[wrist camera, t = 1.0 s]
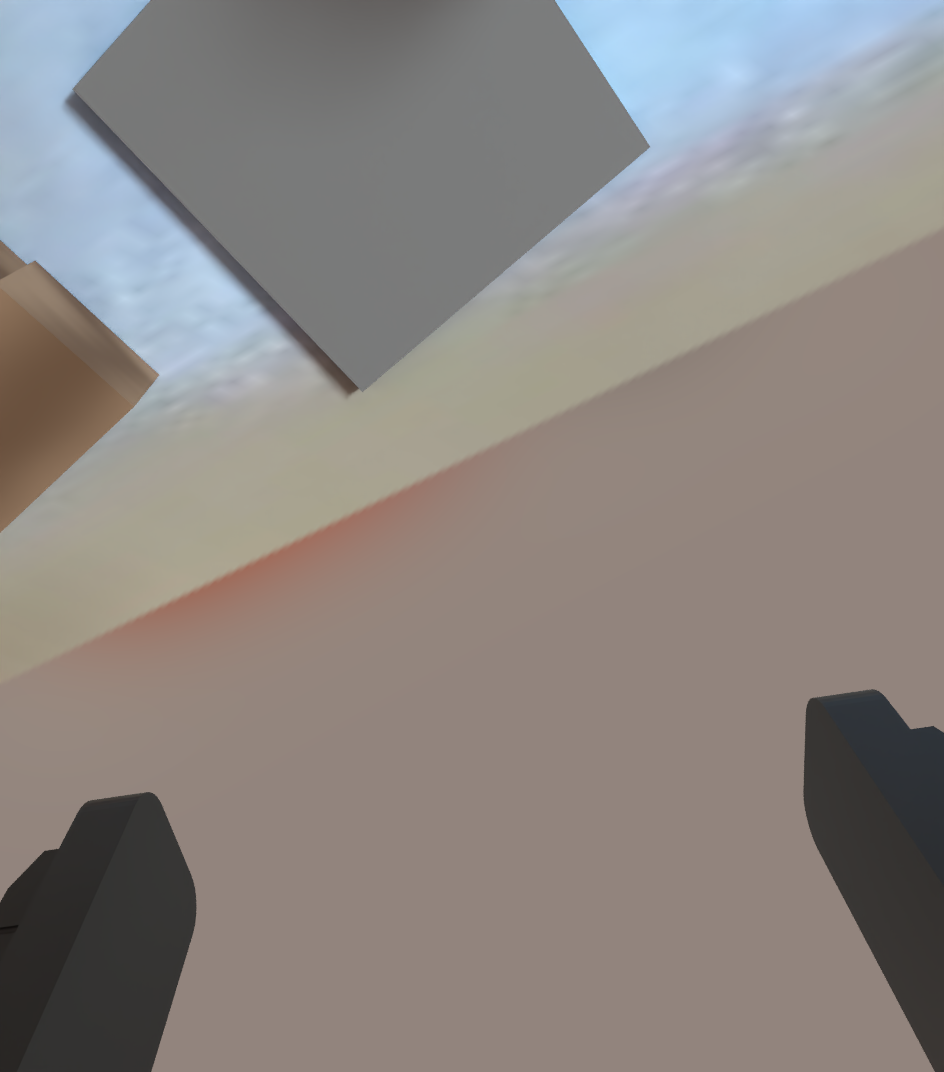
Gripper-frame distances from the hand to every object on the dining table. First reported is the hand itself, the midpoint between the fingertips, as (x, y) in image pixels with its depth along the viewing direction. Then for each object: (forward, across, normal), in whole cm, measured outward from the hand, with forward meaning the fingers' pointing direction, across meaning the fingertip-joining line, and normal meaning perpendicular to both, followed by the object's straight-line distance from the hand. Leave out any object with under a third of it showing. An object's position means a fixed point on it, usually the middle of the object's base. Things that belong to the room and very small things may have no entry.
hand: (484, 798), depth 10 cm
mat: (+20, +1, -8) cm, 22 cm away
